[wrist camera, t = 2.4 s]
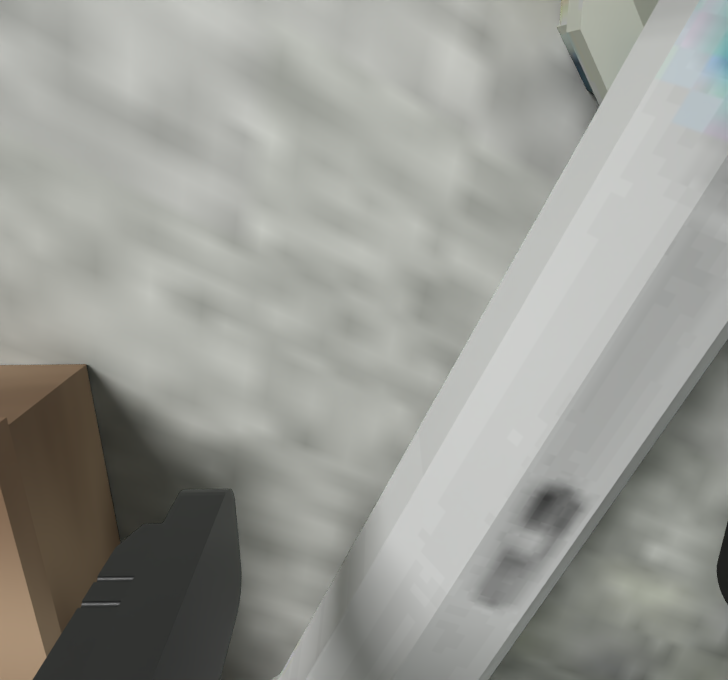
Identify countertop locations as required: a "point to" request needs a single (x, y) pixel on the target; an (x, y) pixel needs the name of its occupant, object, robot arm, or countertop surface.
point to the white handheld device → (554, 365)
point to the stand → (48, 509)
